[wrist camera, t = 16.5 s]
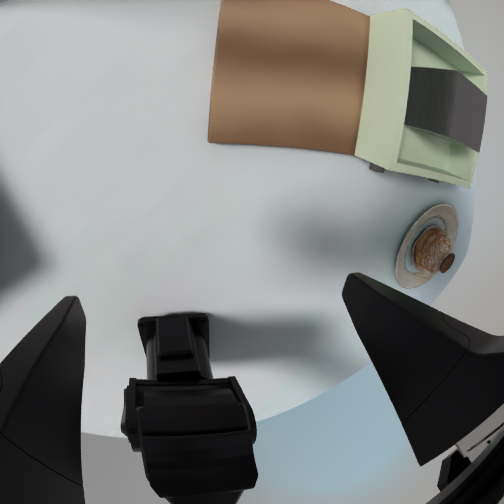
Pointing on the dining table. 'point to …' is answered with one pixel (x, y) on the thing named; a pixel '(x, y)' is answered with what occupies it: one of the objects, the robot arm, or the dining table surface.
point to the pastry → (428, 247)
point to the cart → (396, 95)
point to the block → (446, 106)
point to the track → (289, 74)
